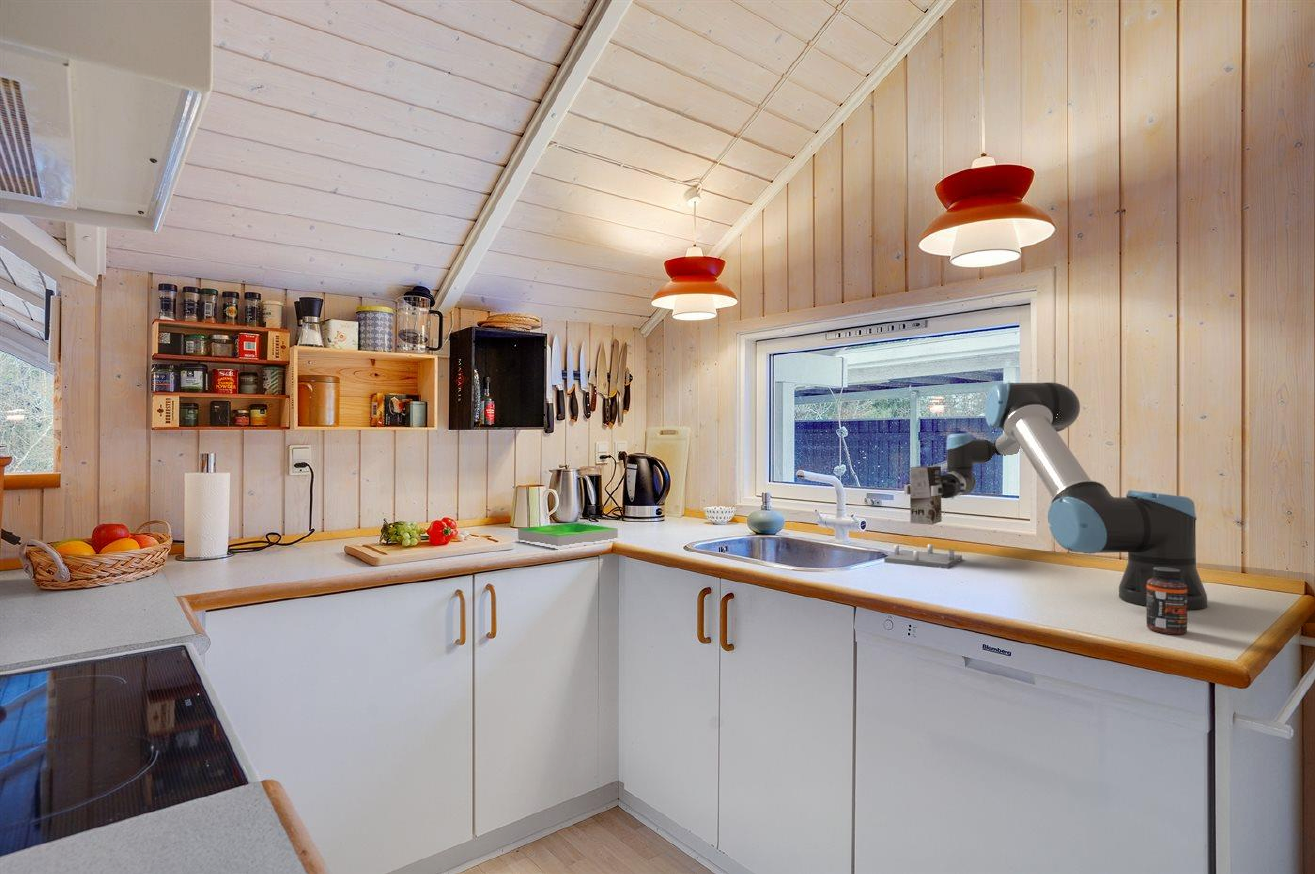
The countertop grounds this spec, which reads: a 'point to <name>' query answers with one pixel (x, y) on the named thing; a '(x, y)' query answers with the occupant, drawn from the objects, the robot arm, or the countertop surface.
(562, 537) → the tray
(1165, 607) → the supplement bottle
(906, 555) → the cradle
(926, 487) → the coffee box
